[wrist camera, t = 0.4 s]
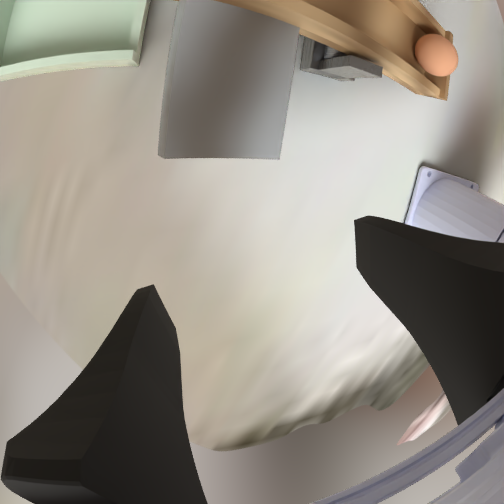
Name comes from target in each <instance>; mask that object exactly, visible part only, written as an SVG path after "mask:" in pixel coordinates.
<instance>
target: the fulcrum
mask: <svg viewBox="0 0 504 504" xmlns="http://www.w3.org/2000/svg"><path fill="white" fill-rule="evenodd" d="M300 70H302V71H306V72H310V73H314V74H318V75H322V76H325V77H329V78H333V79H336V80H340V81H355V78H382V71H383V67H381V66H379V65H376V64H374V63H371V62H369V61H366V60H363V59H361V58H358V57H355V56H352V55H346V54H344V53H342V52H340V51H338V50H336V49H334V48H331V47H329V46H327V45H325V44H322V43H320V42H318V41H315V40H313V39H310V38H308V37H306V36H305V38H304V45H303V52H302V59H301V65H300Z"/></svg>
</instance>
